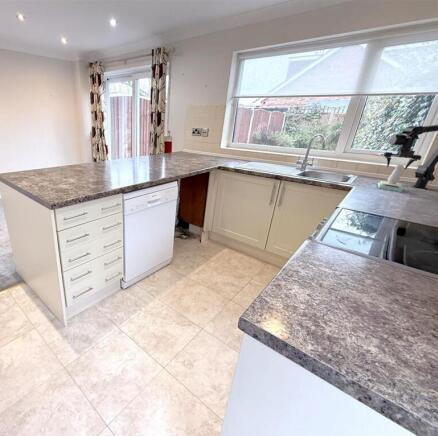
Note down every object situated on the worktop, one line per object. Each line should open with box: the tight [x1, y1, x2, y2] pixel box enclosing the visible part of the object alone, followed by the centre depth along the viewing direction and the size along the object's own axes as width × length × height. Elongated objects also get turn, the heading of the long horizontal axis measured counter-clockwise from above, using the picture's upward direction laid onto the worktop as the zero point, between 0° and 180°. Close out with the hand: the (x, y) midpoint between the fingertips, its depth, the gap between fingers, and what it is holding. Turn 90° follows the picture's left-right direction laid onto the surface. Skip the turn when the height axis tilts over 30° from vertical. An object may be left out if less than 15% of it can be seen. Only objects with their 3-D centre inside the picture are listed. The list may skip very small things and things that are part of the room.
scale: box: [377, 180, 404, 193], centre depth 172 cm, size 14×12×3 cm
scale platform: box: [380, 180, 403, 187], centre depth 173 cm, size 11×10×1 cm
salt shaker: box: [387, 164, 405, 184], centre depth 170 cm, size 6×6×13 cm
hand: (396, 168), depth 175 cm, fingers open, 9 cm apart
